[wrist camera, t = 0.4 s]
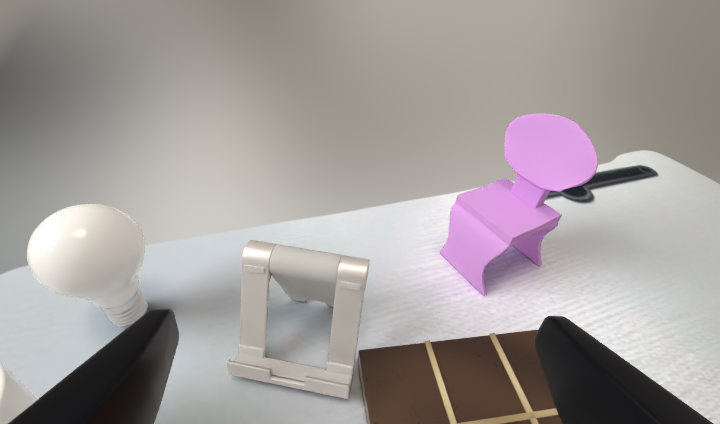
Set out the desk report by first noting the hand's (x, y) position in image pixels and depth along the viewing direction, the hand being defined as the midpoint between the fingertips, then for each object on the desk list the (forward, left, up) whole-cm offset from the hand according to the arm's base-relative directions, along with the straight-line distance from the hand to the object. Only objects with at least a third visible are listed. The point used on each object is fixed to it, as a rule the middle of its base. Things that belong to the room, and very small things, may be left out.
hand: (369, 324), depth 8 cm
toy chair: (+18, -17, -19) cm, 31 cm away
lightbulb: (+15, +16, -19) cm, 29 cm away
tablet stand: (+11, +2, -19) cm, 22 cm away
